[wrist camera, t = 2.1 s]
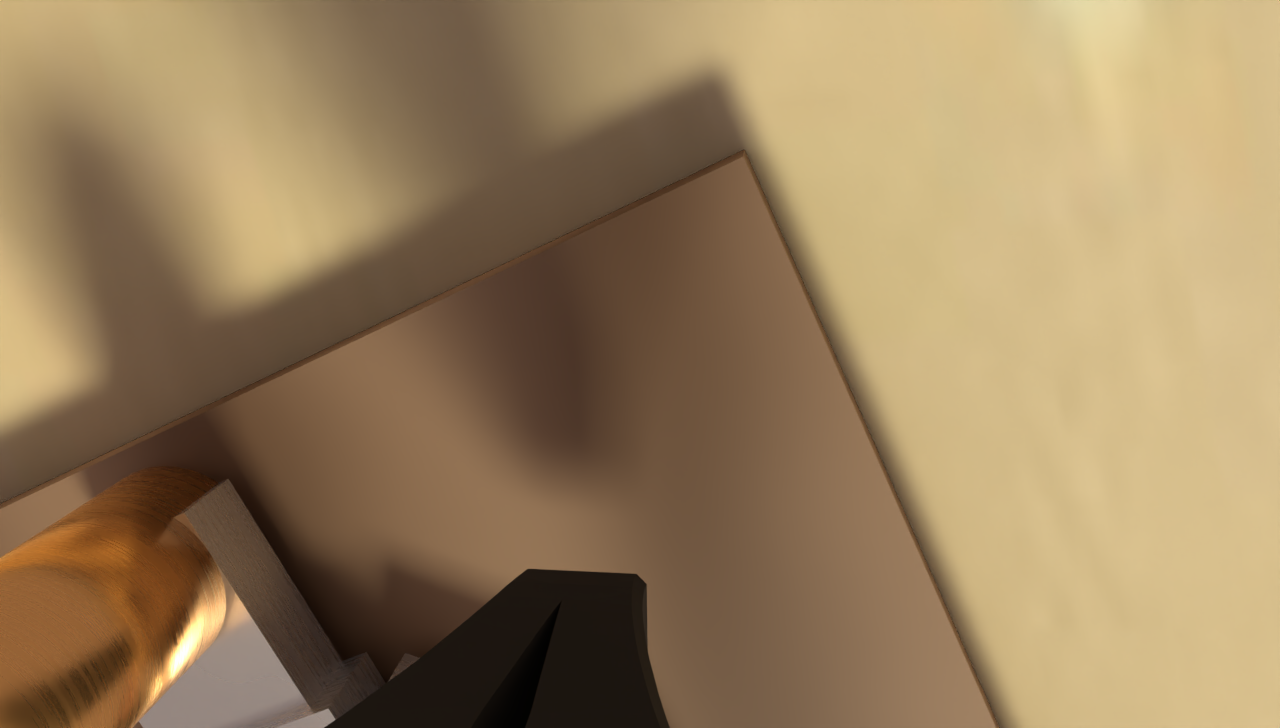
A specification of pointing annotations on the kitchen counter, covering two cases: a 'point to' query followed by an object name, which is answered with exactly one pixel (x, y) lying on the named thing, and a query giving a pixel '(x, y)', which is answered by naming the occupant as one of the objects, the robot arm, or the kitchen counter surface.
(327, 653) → the white segmented ring
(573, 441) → the peg base
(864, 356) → the kitchen counter surface
